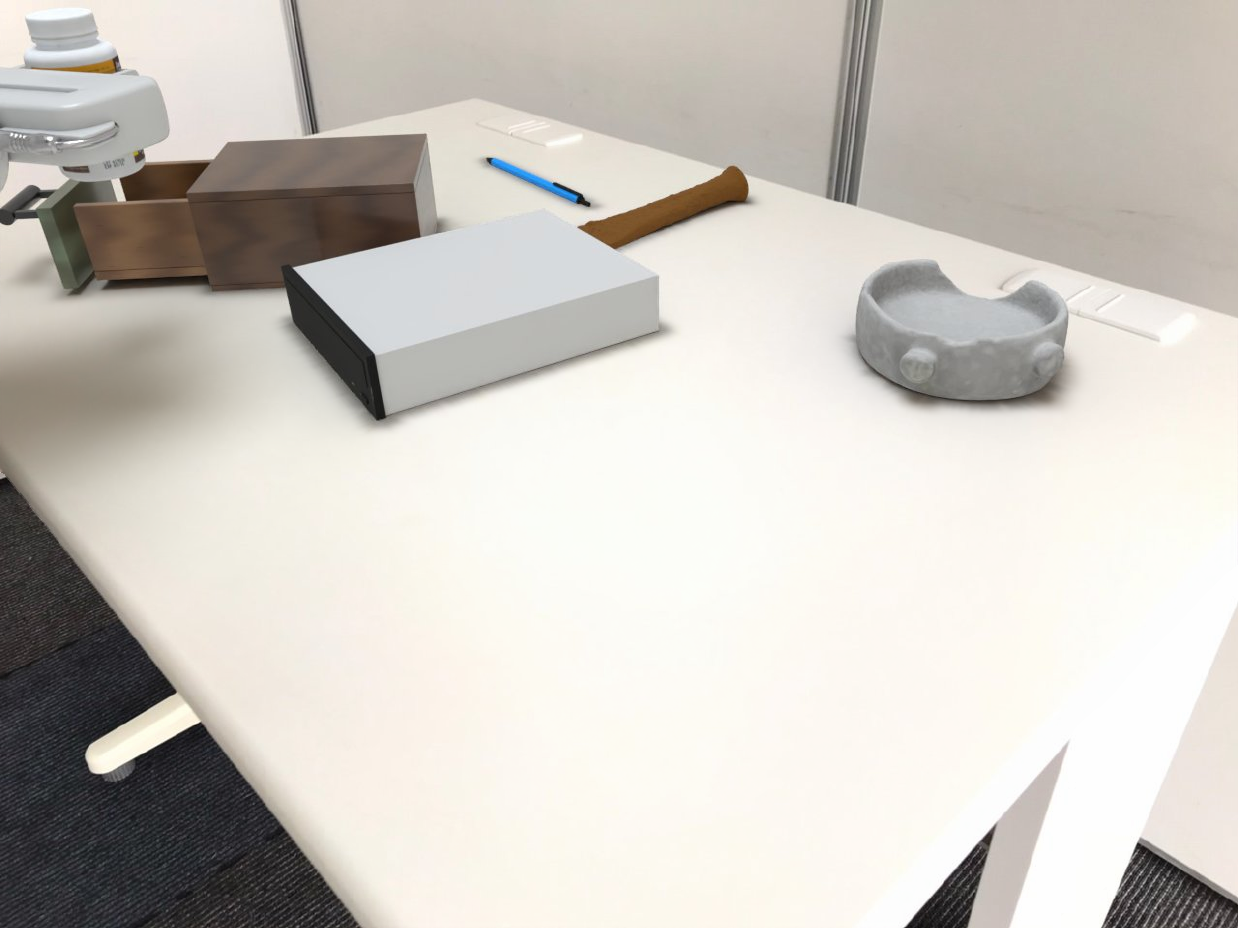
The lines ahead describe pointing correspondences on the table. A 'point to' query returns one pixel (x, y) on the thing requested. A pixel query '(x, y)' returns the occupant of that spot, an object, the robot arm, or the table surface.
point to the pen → (540, 182)
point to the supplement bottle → (75, 48)
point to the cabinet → (308, 203)
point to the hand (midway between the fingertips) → (87, 78)
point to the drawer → (118, 224)
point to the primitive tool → (669, 209)
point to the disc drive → (468, 307)
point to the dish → (959, 334)
